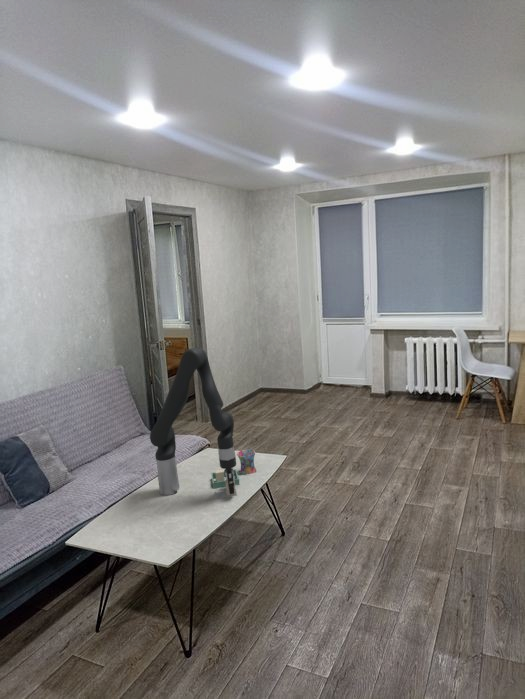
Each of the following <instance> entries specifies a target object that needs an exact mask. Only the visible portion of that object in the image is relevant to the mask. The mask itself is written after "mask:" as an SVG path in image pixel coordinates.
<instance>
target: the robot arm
mask: <svg viewBox="0 0 525 699" xmlns="http://www.w3.org/2000/svg"><path fill="white" fill-rule="evenodd" d="M196 371H197V372H198V375H199V378H200V383H201V384H200V385H201V391H202V396H203V399H204V401H205V403H206V406H207V408H208V413H209V419H210V423H211V425H212V427H213V429H214V430H215V431H217V432H220V433H219V435H217V440H216V441H217V446H218V448H217V449H218V450H217V452H218V460H219V467H220V468H221V469H223V471H225V475H226V477H225V478H226V479H225V480H227V482H228V486H229V493H230V494H234V479H235V477H234V475H233V474H234V471H233V470H234V468H235V467H236V466H237V458H236V451H235V448H234V447H235V446H234V438H233V436H234V426H235V423H234V422H235V421H234V417H233V416H232V414H230V412H227V411H224V412H223V411H222V408H223V407H224V401H223V399H222V397H221V395H220V393H219V391H218V388H217V385H216V383H215V380H214V376H213V372H212V370H211V366H210V362H209V358H208V356H207V353H206V350H204V348H202V347H201V346H199V347H197V346H194V347H192V348H188V349H187V350H185V351H183V353H182V355H181V357H180V361H179V364H178V368H177V370H176V374H175V376H174V378H173V381H172V384H171V386H170V388H169V390H168V392H167V396H166V397H165V401H164V403H163V406H162V408H161V411H160V413H159V415H158V418H157V420H156V421H155V424H154V426H153V428H152V429H151V431H150V435H149V440H150V442H151V444H152V445H153V446H154V447H157V449H156V452H155V454H154V456H155V462H156V469H157V470H156V471H157V481H158V487H159V488H158V489H159V495H160V496H161V495H162V496H163V495H164V496H170V495H173V494H176V493H178V491H179V490H180V481H179V474H178V468H177V460H176V449H177V446H176V435H175V434H176V433H175V431H174V428H173V424H174V422H175V421H176V419H177V418H179V415H180V414H181V412H182V411H183V410H184V408H185V406H186V403H187V401H188V399H189V396H190V388H191V387H190V384H191V380H192V377H193V375H194V373H195V372H196ZM231 481H232V483H231V484H229V482H231Z"/></svg>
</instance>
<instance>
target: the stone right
mask: <svg viewBox="0 0 525 699" xmlns="http://www.w3.org/2000/svg"><path fill="white" fill-rule="evenodd" d="M225 483H226V487H225V489H226V490H225V491H226V492H227V496H228V495H235V494H236V492H237V489H236V485H235V482H234V494H230V493H229V486H228V482H227V480H226V479H225ZM231 483H232V481H231V482H229V484H231ZM235 489H236V490H235Z"/></svg>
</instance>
